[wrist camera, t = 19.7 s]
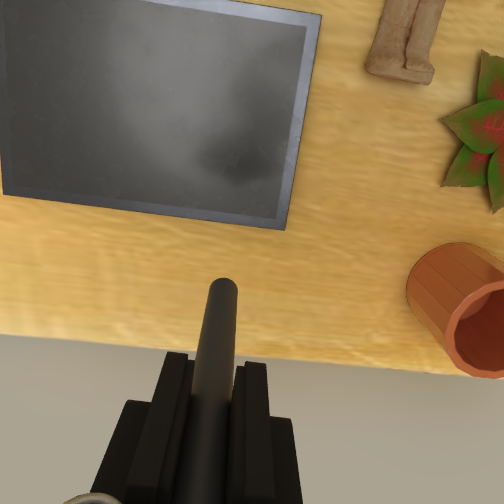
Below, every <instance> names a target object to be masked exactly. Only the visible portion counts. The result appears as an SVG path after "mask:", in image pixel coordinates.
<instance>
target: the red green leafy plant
mask: <svg viewBox="0 0 504 504" xmlns="http://www.w3.org/2000/svg"><path fill="white" fill-rule="evenodd" d="M481 55H482V58H481V65H480V70H481V73H480V74H479V79H478V90H477V93H478V94H477V102H478V103H477V104H475V105H472V106H470V107H467V108H465V109H463V110H460V111H458V112H456V113H455V114H453V115H452V116H451V117H449V116H447V117H444V118H440V119H439V120H441V121H442V122H444V123H445V124H446V125H447V126H448V127H449V128H450V129H451V130H452V131H455V132H456V136H457V137H458V138H459V139H460V140H461V141H463V142H464V143H465V145H464V146H463V147H462V149H461V150H460V152H459V153H458V155H457V157H456V158H455V160H454V162H453V164H452V166H451V168H450V170H449V172H448V175H447V179H446V180H444V181H443V183H442V184H441V186H440V187H444V186H454V187H455V186H457V185H460V186H461V187H473V186H479V185H483V184H485V183H488V186H489V192H490V198H491V203H492V204H493V205H494V206H493V213H492V215H493V214H494V213H495V212H496V211H497V210H498V209H501V208H502V207H504V58H501V57H498V56H494V57H493V56H490V57H489V54H488V53H487V52H485V51H483V50H482V49H481Z"/></svg>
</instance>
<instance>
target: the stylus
mask: <svg viewBox="0 0 504 504" xmlns="http://www.w3.org/2000/svg"><path fill="white" fill-rule="evenodd" d="M237 295H238V289H237V286H236V284H235V283H234V282H233V281H232V280H230V279H228V278H219V279H216V280H215V281H213V282H212V284H211V285H210V289H209V294H208V299H207V304H206V309H205V314H204V319H203V324H202V329H201V333H200V338H199V343H198V348H197V354H196V358H195V368H194V375H193V383H192V391H191V398H190V403H189V408H188V414H187V419H186V424H185V429H184V435H183V440H182V445H181V451H180V456H179V461H178V466H177V472H176V477H175V482H174V487H173V493H172V498H171V503H170V504H225V494H226V476H227V458H228V441H229V423H230V405H231V397H232V391H233V370H234V353H235V333H236V314H237Z"/></svg>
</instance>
